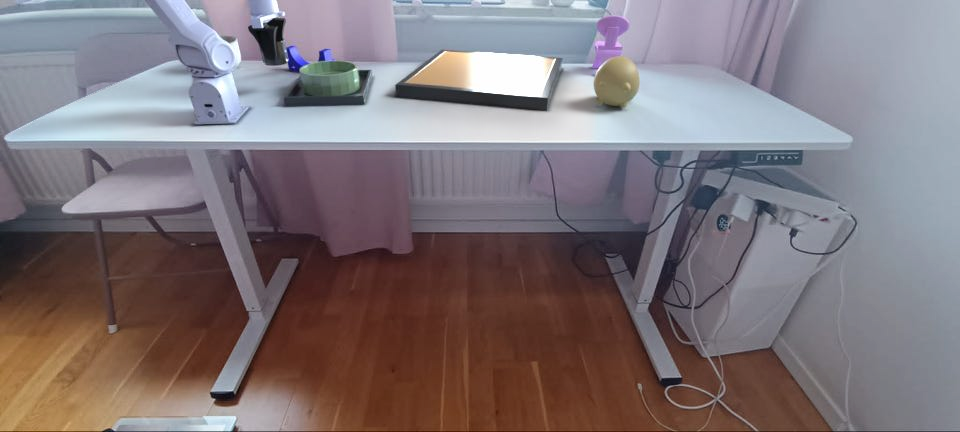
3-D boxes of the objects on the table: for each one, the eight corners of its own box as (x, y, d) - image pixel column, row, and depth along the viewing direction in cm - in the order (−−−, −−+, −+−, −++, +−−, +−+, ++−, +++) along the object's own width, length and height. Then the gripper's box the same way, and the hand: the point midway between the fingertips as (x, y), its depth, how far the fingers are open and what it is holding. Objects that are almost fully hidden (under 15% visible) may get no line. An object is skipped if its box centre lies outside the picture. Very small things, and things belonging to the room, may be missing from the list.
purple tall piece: (617, 68, 131) (627, 11, 123) (622, 77, 123) (632, 17, 115) (587, 67, 131) (595, 10, 123) (590, 75, 124) (599, 16, 116)
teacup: (252, 65, 129) (244, 35, 125) (230, 76, 120) (221, 44, 116) (205, 63, 131) (196, 33, 126) (180, 74, 121) (170, 42, 117)
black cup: (286, 65, 104) (281, 42, 101) (260, 66, 103) (254, 43, 100) (291, 59, 108) (287, 37, 106) (267, 60, 108) (261, 37, 105)
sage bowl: (357, 98, 106) (354, 75, 103) (298, 100, 105) (293, 76, 102) (363, 81, 117) (360, 59, 114) (310, 83, 116) (305, 60, 113)
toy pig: (631, 121, 106) (641, 81, 108) (636, 94, 95) (648, 50, 97) (588, 114, 109) (600, 75, 111) (588, 86, 97) (601, 43, 100)
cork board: (442, 59, 137) (396, 96, 108) (441, 49, 135) (395, 84, 106) (561, 68, 130) (546, 110, 101) (562, 58, 128) (547, 98, 99)
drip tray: (364, 104, 103) (363, 95, 102) (285, 106, 102) (283, 97, 100) (372, 77, 121) (371, 69, 120) (305, 78, 119) (303, 70, 118)
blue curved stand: (337, 70, 126) (333, 47, 123) (327, 75, 122) (323, 51, 119) (299, 66, 129) (294, 44, 125) (289, 70, 125) (284, 48, 122)
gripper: (270, -6, 92) (285, 63, 99) (287, -15, 104) (299, 47, 111) (233, -6, 91) (251, 64, 98) (254, -15, 103) (269, 48, 111)
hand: (274, 55), depth 105 cm, fingers closed on black cup, 5 cm apart
